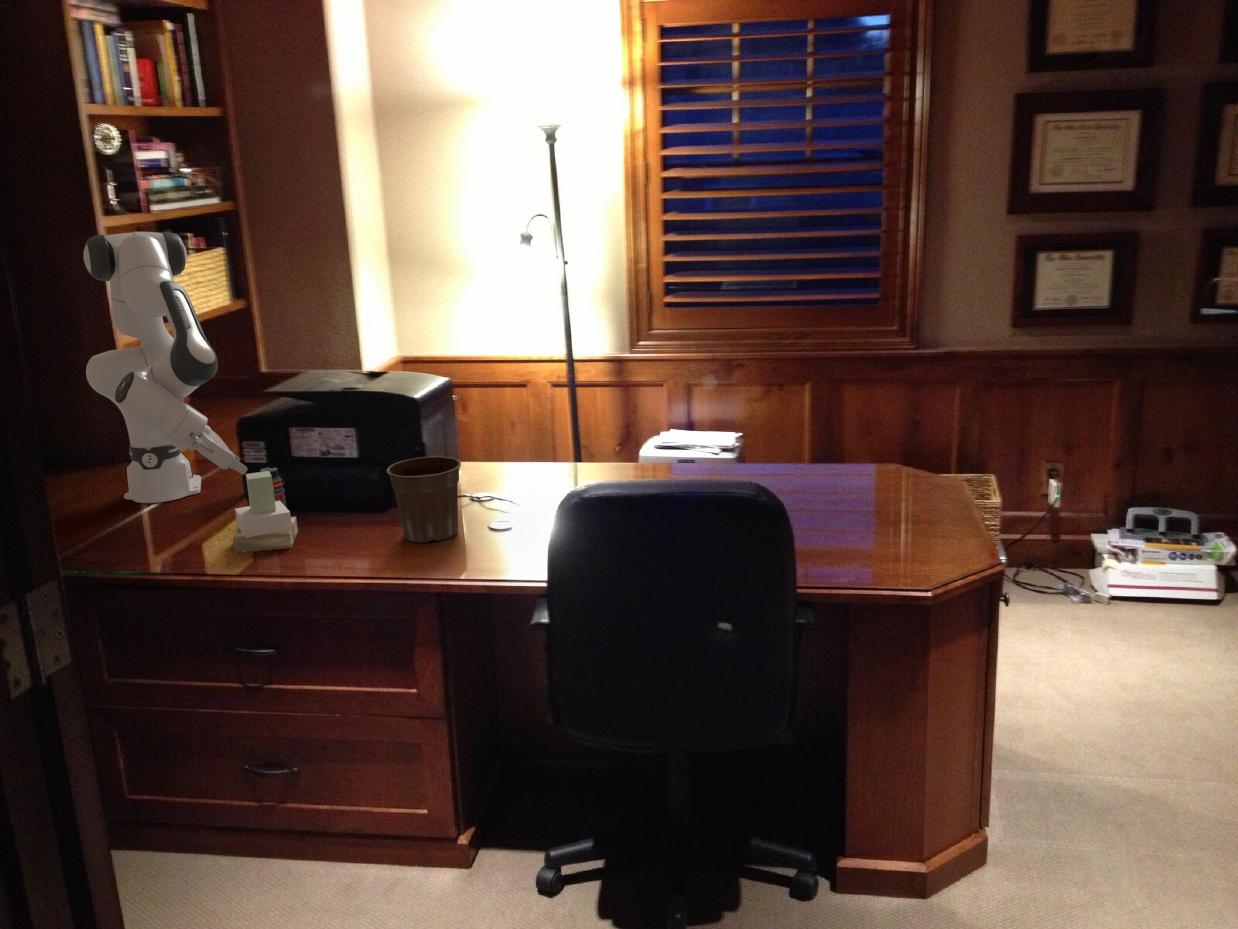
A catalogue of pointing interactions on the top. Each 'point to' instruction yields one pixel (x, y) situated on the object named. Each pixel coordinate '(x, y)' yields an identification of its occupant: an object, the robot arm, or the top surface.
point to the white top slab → (263, 520)
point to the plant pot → (427, 497)
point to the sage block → (260, 492)
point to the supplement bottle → (276, 485)
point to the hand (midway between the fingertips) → (241, 466)
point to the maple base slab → (266, 540)
